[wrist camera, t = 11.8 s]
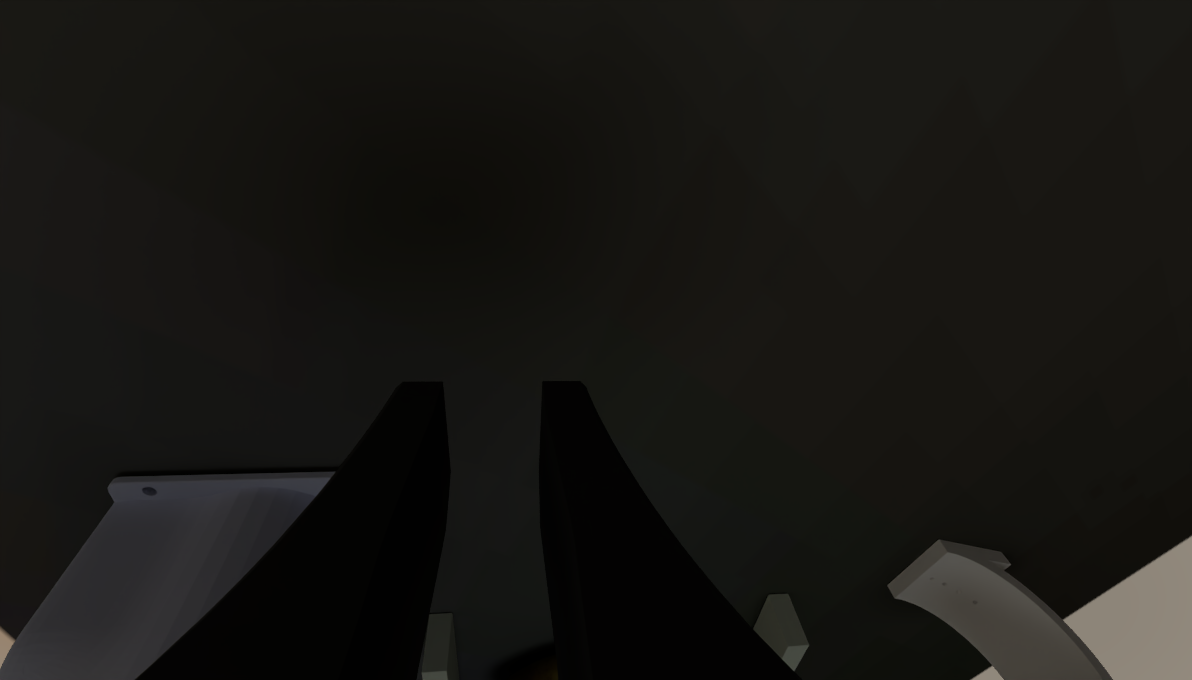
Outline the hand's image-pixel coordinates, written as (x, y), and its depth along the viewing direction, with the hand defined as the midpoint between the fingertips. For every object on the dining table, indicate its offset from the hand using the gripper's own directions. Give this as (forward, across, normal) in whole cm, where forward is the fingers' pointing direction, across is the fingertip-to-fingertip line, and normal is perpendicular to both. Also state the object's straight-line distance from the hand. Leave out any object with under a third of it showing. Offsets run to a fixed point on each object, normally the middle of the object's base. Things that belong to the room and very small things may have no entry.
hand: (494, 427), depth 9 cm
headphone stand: (+11, -26, +22) cm, 36 cm away
